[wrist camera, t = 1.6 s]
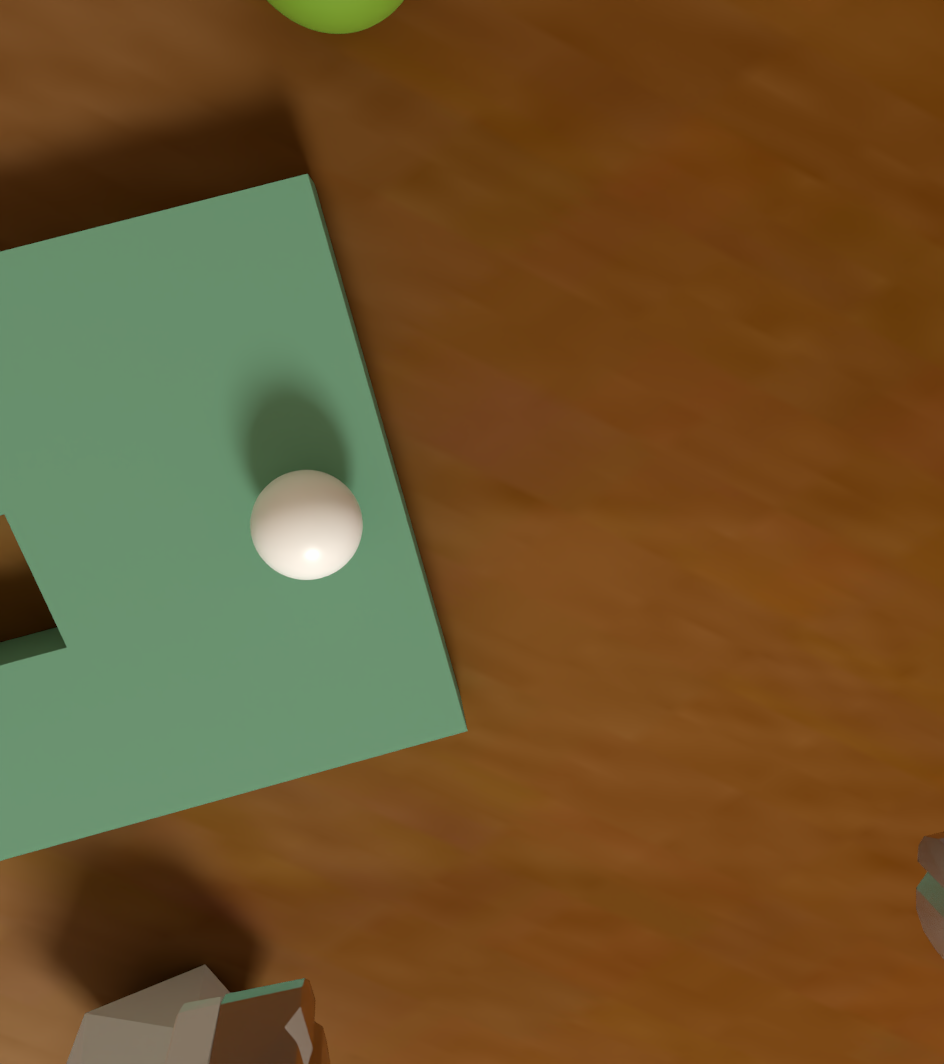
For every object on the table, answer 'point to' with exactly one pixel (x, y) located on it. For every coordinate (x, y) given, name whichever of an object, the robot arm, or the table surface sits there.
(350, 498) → the ball
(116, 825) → the green box with hole
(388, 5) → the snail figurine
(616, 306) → the table surface
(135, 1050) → the die
